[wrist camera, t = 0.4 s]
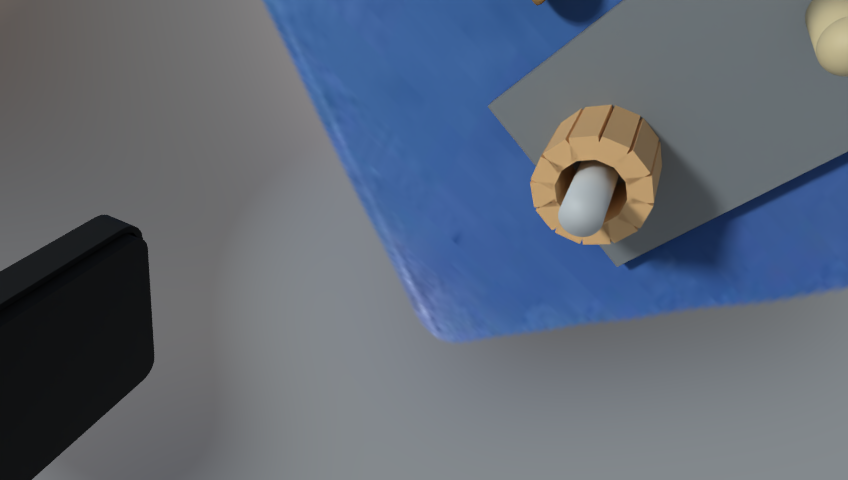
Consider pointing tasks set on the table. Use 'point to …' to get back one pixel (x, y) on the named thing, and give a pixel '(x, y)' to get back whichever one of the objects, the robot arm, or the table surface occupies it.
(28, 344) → the robot arm
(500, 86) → the table surface
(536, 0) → the kendama
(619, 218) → the collar
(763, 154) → the board
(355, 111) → the table surface
